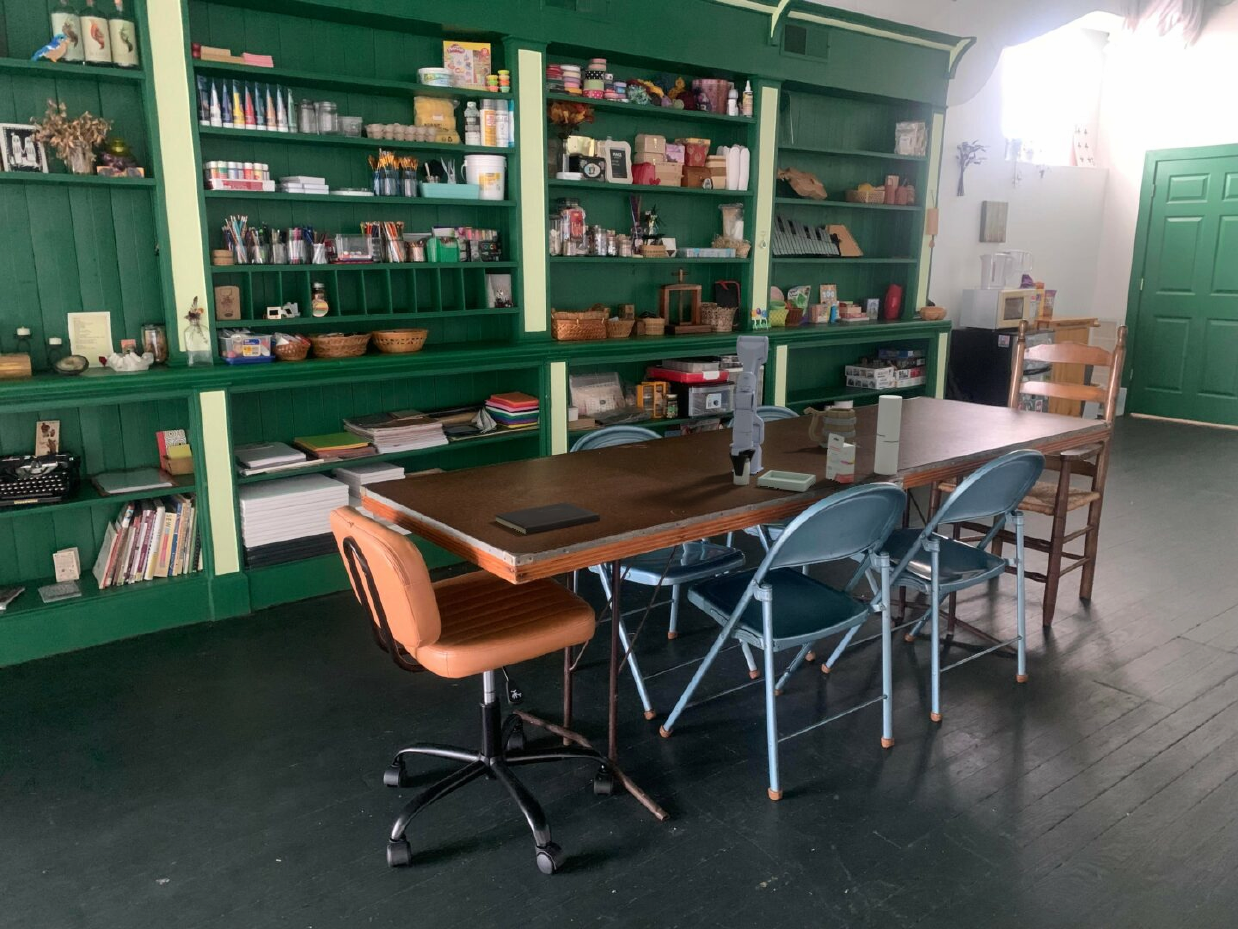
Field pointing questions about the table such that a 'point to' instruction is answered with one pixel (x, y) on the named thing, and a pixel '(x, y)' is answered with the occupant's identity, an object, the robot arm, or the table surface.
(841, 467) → the ink cartridge box
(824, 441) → the tankard
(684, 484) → the table surface
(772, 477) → the tray
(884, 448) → the cylindrical container
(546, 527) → the hardcover book
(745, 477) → the shaker
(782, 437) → the table surface
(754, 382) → the robot arm
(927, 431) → the table surface
